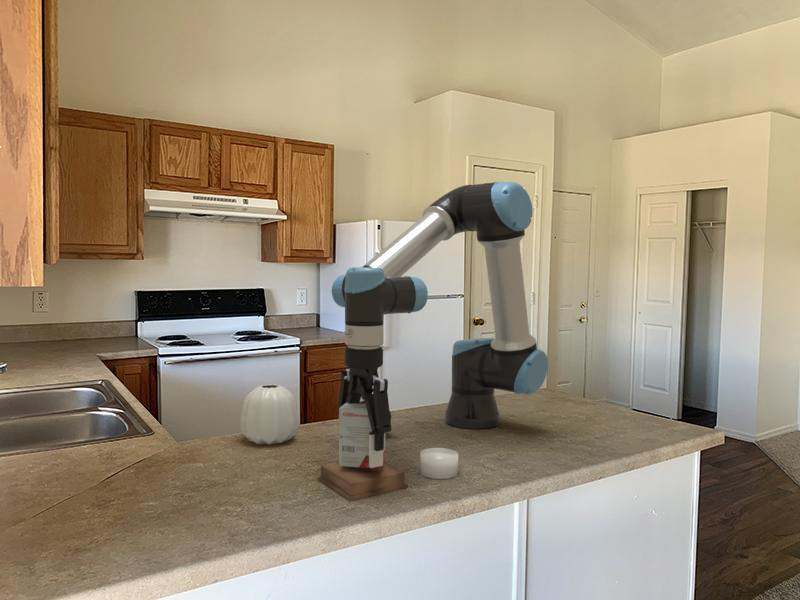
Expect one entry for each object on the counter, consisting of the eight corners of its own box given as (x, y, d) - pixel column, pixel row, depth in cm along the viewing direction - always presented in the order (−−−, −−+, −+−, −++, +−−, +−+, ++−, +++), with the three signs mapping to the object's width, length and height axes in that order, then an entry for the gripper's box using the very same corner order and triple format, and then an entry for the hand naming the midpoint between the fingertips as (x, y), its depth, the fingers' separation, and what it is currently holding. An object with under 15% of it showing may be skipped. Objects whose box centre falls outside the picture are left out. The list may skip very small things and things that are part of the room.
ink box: (386, 461, 123) (387, 403, 123) (380, 470, 119) (381, 409, 118) (345, 458, 125) (345, 401, 124) (338, 466, 120) (338, 406, 119)
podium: (372, 468, 131) (372, 454, 131) (407, 487, 120) (408, 472, 120) (317, 479, 124) (317, 465, 123) (350, 501, 113) (350, 485, 113)
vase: (293, 430, 159) (293, 379, 158) (302, 446, 146) (302, 390, 145) (238, 434, 154) (238, 381, 154) (242, 451, 141) (242, 393, 140)
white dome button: (441, 463, 135) (442, 445, 135) (465, 474, 128) (466, 455, 128) (412, 470, 130) (412, 451, 130) (435, 481, 124) (436, 462, 123)
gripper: (320, 340, 127) (320, 447, 129) (377, 355, 109) (376, 479, 111) (352, 338, 131) (351, 442, 133) (412, 352, 113) (410, 471, 115)
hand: (362, 459), depth 122 cm, fingers closed on ink box, 9 cm apart
